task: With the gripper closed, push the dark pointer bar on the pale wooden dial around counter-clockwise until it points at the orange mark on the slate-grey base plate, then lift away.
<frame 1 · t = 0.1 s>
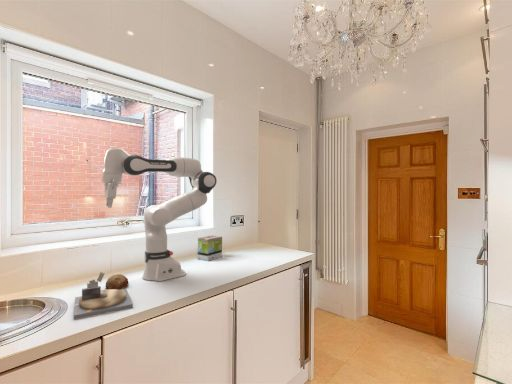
hand: (108, 207, 141), 39 cm above the worktop, tool pointing down, fingers open, 8 cm apart
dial: (103, 293, 116), point 5 cm above the worktop, hinge at 0.0°
lighter: (96, 290, 133), on the worktop
bread roll: (117, 287, 137), on the worktop
tea box: (210, 258, 195), on the worktop
dial plate: (103, 304, 117), on the worktop
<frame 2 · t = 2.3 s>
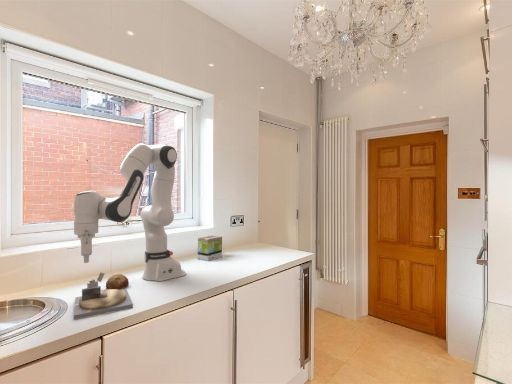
hand: (86, 262, 118), 17 cm above the worktop, tool pointing down, fingers closed
nothing on the worktop moved.
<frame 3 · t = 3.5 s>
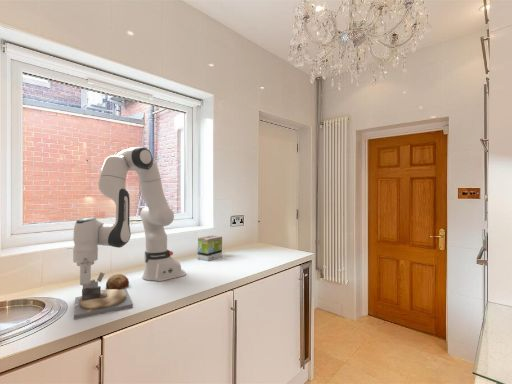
hand: (85, 289, 118), 6 cm above the worktop, tool pointing down, fingers closed
nothing on the worktop moved.
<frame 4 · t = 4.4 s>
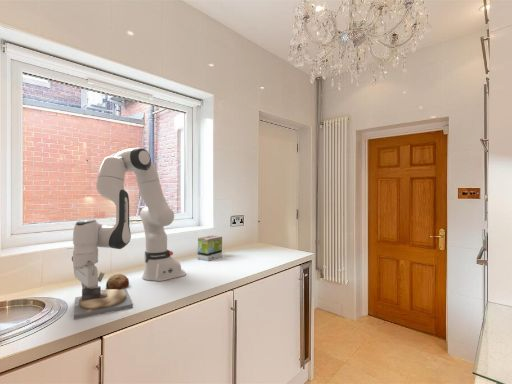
hand: (85, 292, 115), 5 cm above the worktop, tool pointing down, fingers closed
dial: (103, 293, 116), point 5 cm above the worktop, hinge at 0.8°, touching gripper
everything else where it was.
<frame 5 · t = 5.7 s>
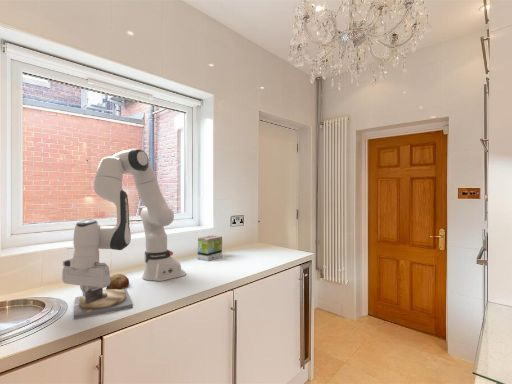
hand: (86, 296, 111), 5 cm above the worktop, tool pointing down, fingers closed
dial: (103, 293, 116), point 5 cm above the worktop, hinge at 38.6°, touching gripper
everything else where it was.
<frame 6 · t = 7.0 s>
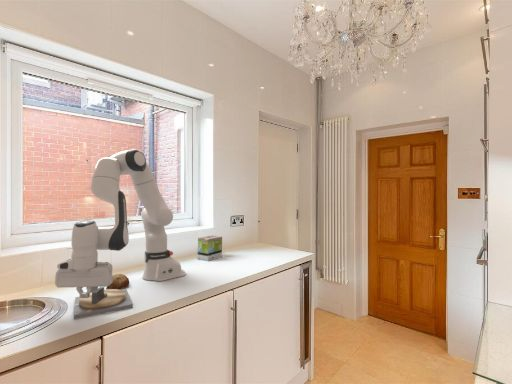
hand: (84, 297, 110), 5 cm above the worktop, tool pointing down, fingers closed
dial: (103, 293, 116), point 5 cm above the worktop, hinge at 62.0°
everything else where it was.
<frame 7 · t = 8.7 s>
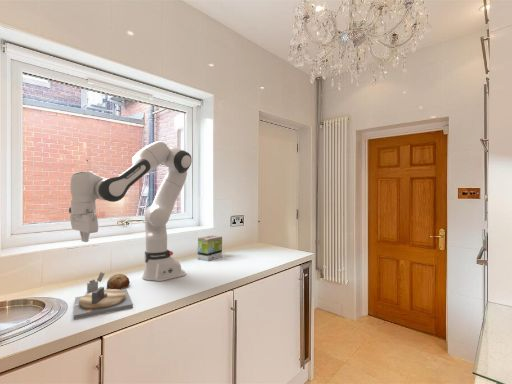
hand: (85, 241, 119), 25 cm above the worktop, tool pointing down, fingers closed
nothing on the worktop moved.
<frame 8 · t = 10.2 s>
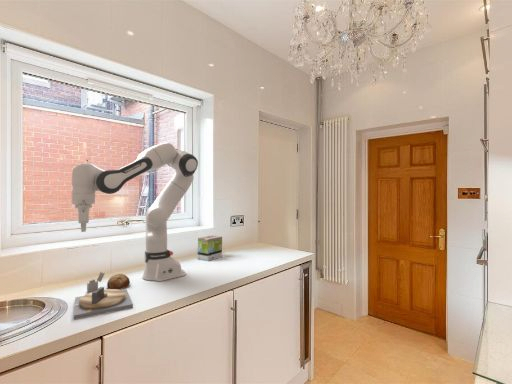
hand: (83, 231, 124), 29 cm above the worktop, tool pointing down, fingers closed
nothing on the worktop moved.
at the end: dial at +62° (first picture: +0°); bread roll moved 1.0 cm from its start; lighter moved 0.2 cm from its start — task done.
